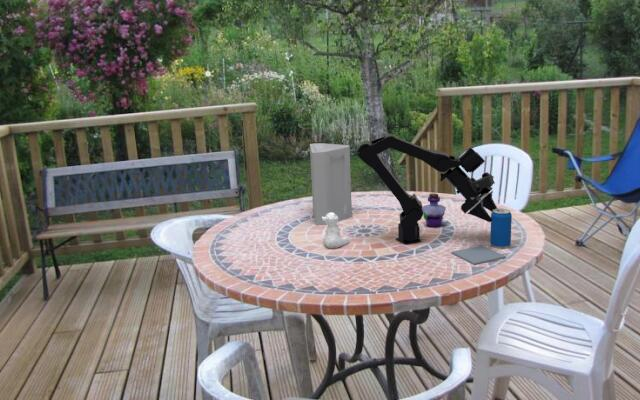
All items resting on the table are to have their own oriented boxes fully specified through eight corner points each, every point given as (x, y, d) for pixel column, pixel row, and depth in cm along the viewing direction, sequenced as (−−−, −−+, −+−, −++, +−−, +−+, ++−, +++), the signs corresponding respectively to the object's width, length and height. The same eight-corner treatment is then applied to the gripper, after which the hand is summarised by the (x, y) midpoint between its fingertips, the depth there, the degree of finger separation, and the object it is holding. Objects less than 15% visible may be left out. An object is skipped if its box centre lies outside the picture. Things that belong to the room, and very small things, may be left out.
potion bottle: (417, 225, 235) (416, 194, 232) (432, 220, 240) (432, 189, 237) (435, 230, 229) (435, 198, 226) (450, 225, 234) (450, 193, 231)
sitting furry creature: (350, 242, 221) (349, 208, 218) (344, 250, 213) (343, 216, 210) (324, 240, 223) (322, 208, 220) (317, 249, 215) (315, 215, 212)
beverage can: (507, 242, 213) (508, 207, 210) (513, 248, 207) (514, 213, 204) (487, 243, 213) (488, 208, 210) (493, 249, 207) (494, 214, 204)
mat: (474, 265, 194) (474, 263, 194) (451, 253, 205) (451, 251, 205) (505, 258, 199) (506, 256, 199) (481, 247, 210) (481, 245, 209)
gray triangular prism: (354, 223, 242) (352, 150, 235) (315, 225, 241) (312, 152, 234) (349, 209, 260) (346, 141, 253) (313, 211, 260) (309, 143, 253)
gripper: (471, 172, 199) (506, 209, 197) (486, 160, 215) (519, 194, 212) (446, 195, 205) (480, 231, 203) (463, 182, 221) (495, 215, 218)
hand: (494, 217), depth 209 cm, fingers open, 9 cm apart
